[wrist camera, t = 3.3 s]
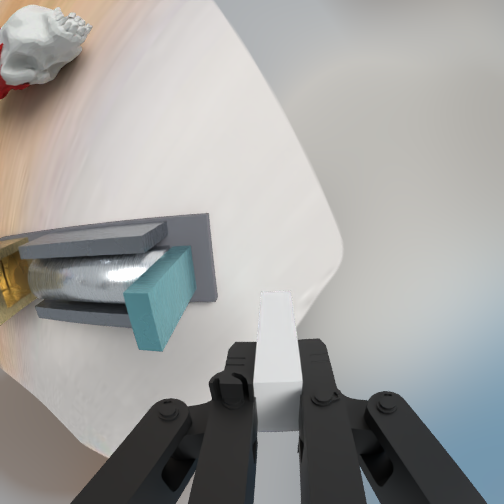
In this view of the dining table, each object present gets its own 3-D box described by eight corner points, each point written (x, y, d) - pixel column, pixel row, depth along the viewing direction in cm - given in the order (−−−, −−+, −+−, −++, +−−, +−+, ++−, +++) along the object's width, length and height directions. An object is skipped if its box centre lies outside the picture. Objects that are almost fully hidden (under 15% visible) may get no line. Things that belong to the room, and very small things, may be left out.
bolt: (58, 288, 23) (6, 328, 15) (48, 251, 22) (-10, 284, 14) (196, 290, 22) (163, 354, 14) (190, 242, 21) (147, 289, 13)
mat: (17, 290, 27) (13, 293, 26) (4, 236, 25) (-1, 238, 24) (217, 296, 25) (215, 301, 24) (208, 213, 23) (206, 215, 22)
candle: (111, 41, 18) (27, 129, 22) (90, -14, 15) (15, 68, 19) (46, 19, 9) (-31, 138, 14) (39, -36, 7) (-36, 67, 11)
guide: (13, 292, 26) (-26, 319, 19) (-1, 240, 24) (-44, 260, 16) (178, 299, 24) (146, 352, 17) (166, 220, 22) (120, 248, 15)
